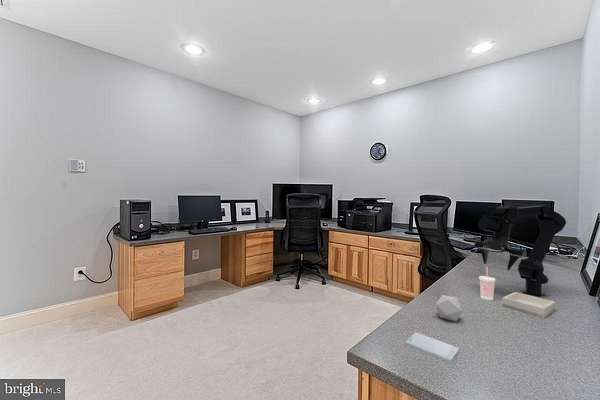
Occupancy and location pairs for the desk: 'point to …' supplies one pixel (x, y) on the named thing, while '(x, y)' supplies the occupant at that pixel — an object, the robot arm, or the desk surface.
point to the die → (449, 308)
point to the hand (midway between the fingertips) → (496, 266)
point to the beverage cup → (487, 286)
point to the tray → (529, 304)
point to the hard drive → (433, 347)
